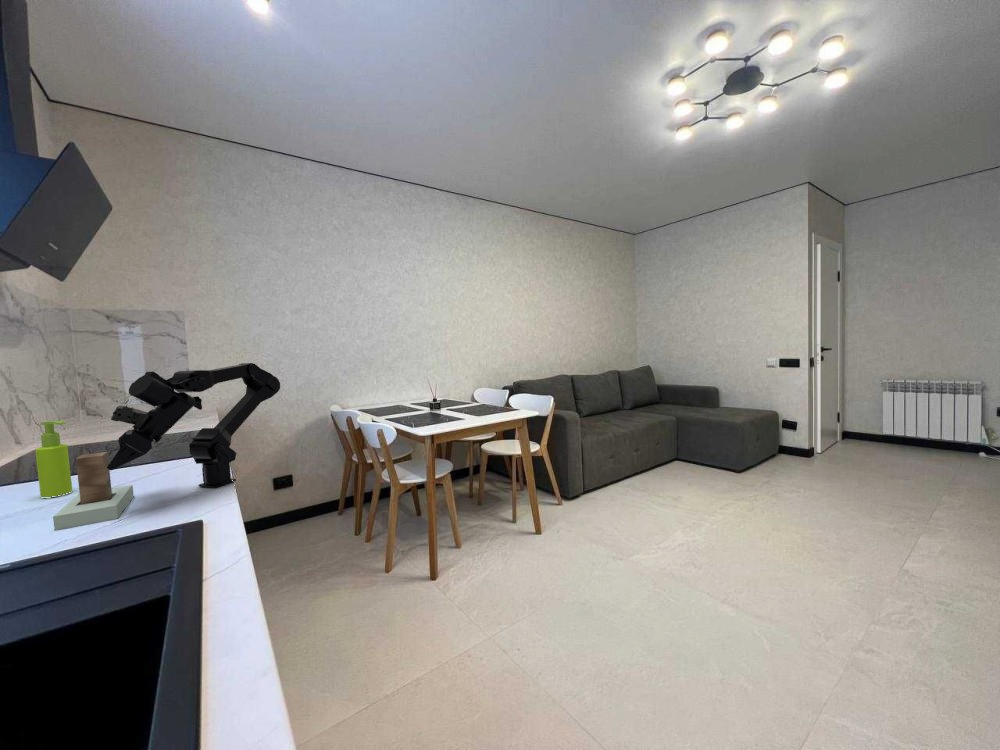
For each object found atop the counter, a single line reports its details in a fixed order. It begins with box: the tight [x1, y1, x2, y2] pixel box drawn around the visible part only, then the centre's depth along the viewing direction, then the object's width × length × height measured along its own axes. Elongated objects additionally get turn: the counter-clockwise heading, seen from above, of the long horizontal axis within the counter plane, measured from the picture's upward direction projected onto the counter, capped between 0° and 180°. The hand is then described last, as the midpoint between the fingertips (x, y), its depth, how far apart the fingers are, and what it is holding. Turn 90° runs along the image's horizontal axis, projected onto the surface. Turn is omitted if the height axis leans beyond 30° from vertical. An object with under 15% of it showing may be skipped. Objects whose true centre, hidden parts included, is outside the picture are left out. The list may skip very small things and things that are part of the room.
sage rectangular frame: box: [52, 484, 134, 531], centre depth 99 cm, size 18×10×3 cm, turn 32°
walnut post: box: [75, 451, 112, 505], centre depth 98 cm, size 4×4×12 cm
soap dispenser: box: [34, 420, 73, 498], centre depth 112 cm, size 6×7×20 cm
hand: (114, 464), depth 100 cm, fingers open, 9 cm apart
